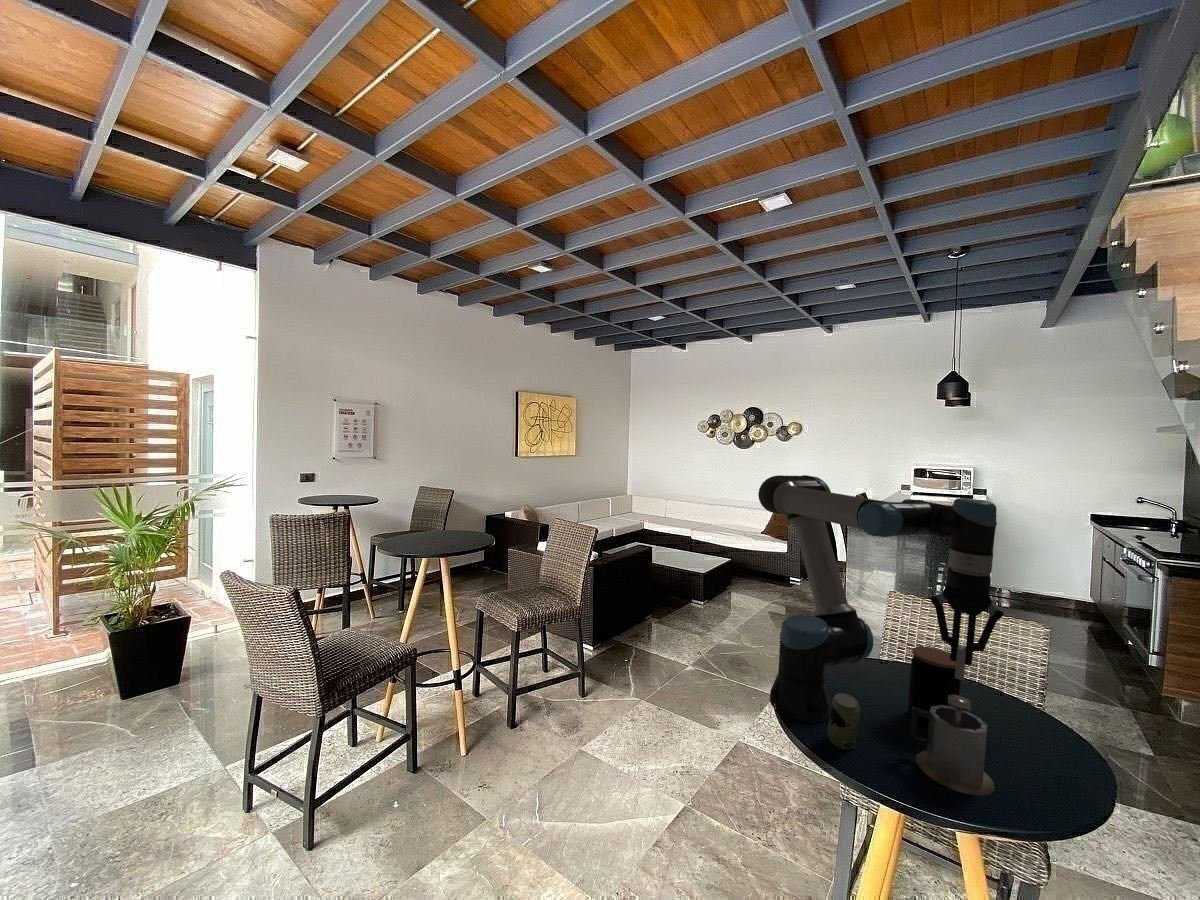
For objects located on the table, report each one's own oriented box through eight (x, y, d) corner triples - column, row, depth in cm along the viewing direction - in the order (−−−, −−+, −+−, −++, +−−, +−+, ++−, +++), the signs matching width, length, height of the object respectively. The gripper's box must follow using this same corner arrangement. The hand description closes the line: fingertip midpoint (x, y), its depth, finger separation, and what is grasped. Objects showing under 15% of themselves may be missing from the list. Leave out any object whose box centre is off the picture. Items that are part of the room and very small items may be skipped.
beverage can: (847, 736, 118) (850, 688, 118) (863, 757, 111) (866, 705, 110) (821, 735, 118) (824, 687, 118) (835, 755, 111) (839, 704, 110)
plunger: (935, 757, 106) (939, 699, 105) (938, 743, 111) (942, 688, 110) (973, 771, 102) (977, 711, 101) (974, 756, 107) (979, 699, 106)
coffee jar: (965, 739, 119) (971, 668, 119) (917, 732, 121) (923, 661, 121) (944, 715, 130) (949, 649, 129) (900, 708, 132) (905, 643, 131)
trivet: (911, 774, 106) (911, 772, 106) (920, 744, 116) (920, 742, 116) (993, 809, 97) (994, 806, 97) (995, 773, 107) (995, 770, 107)
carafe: (905, 764, 108) (909, 712, 107) (912, 743, 116) (915, 694, 115) (981, 795, 99) (986, 738, 99) (983, 771, 107) (987, 718, 106)
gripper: (930, 567, 106) (921, 672, 107) (1008, 582, 98) (997, 695, 99) (934, 561, 112) (926, 660, 113) (1008, 574, 103) (998, 681, 105)
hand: (959, 676), depth 106 cm, fingers closed
